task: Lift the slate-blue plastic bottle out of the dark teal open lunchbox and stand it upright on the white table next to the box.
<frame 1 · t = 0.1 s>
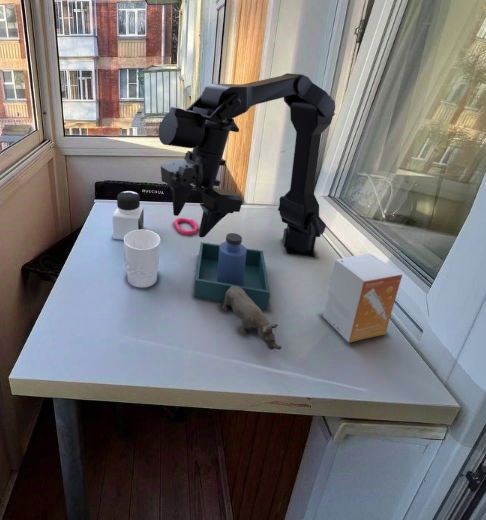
hand: (187, 225, 66), 15 cm above the table, tool pointing down, fingers open, 9 cm apart
lunchbox: (229, 280, 73), on the table
bottle: (229, 279, 73), resting on lunchbox
white cup: (142, 278, 74), on the table
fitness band: (185, 228, 95), on the table
rhino figurine: (249, 331, 60), on the table
medicine bottle: (128, 234, 92), on the table
small box: (352, 326, 61), on the table
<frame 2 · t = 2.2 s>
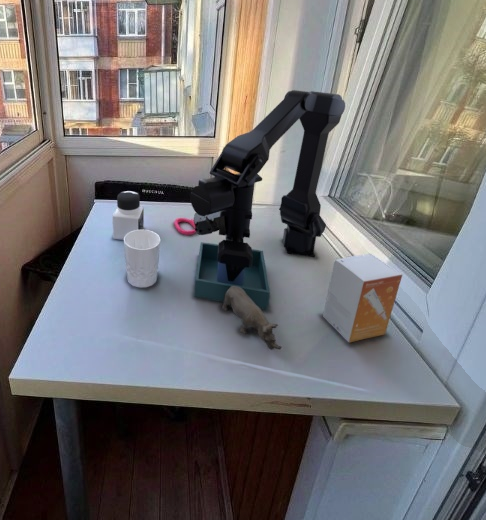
hand: (230, 268, 72), 3 cm above the table, tool pointing down
bottle: (229, 279, 73), resting on lunchbox, touching gripper
everything else where it was.
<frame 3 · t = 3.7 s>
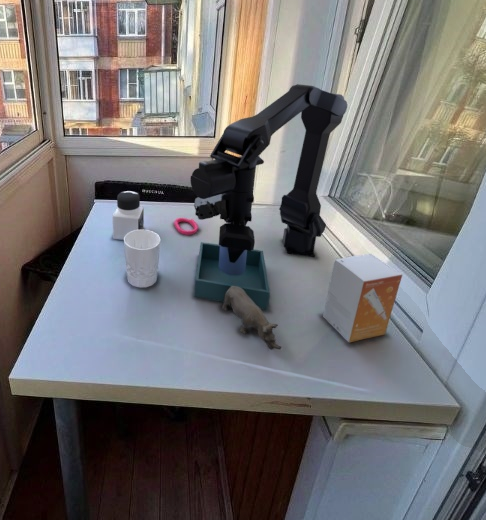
hand: (232, 253, 71), 7 cm above the table, tool pointing down, fingers closed on bottle, 6 cm apart
bottle: (231, 267, 72), point 4 cm above the table, touching gripper
everything else where it was.
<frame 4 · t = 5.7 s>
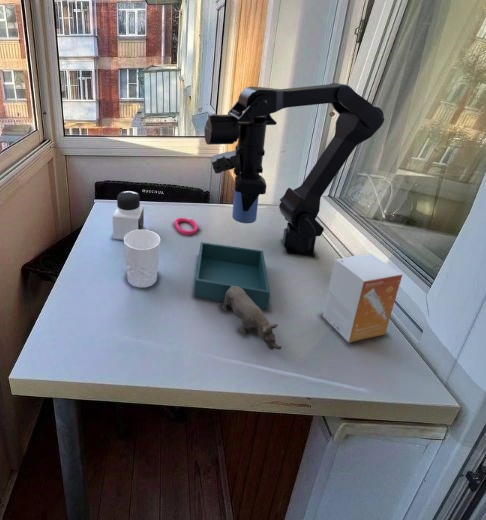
hand: (244, 205, 80), 13 cm above the table, tool pointing down, fingers closed on bottle, 6 cm apart
bottle: (244, 217, 81), point 9 cm above the table, touching gripper
everything else where it was.
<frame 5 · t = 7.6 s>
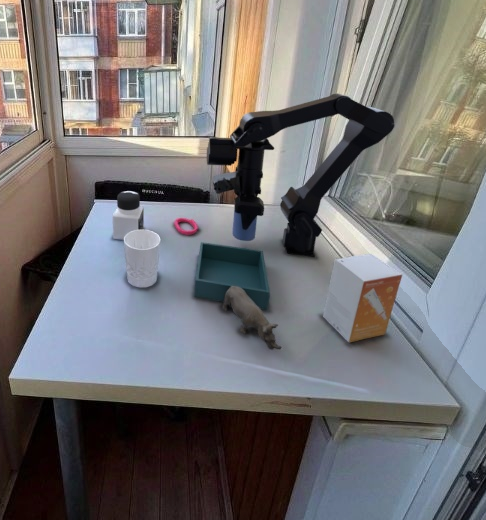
hand: (244, 223, 84), 6 cm above the table, tool pointing down, fingers closed on bottle, 6 cm apart
bottle: (243, 235, 85), point 3 cm above the table, touching gripper
everything else where it was.
when the fingers open (3 cm above the table, at t = 9.0 s): bottle stays where it is, on the table.
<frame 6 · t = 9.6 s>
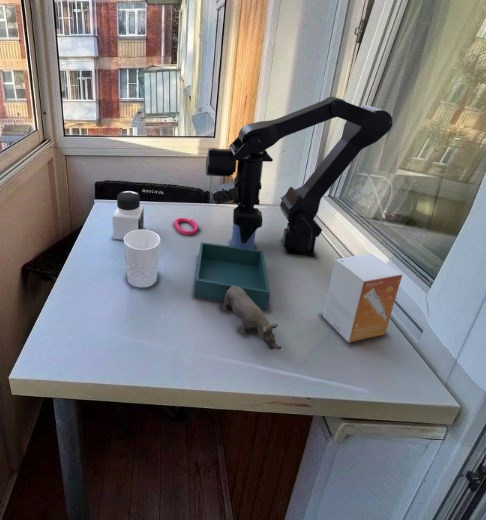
hand: (242, 233, 85), 4 cm above the table, tool pointing down, fingers open, 9 cm apart
bottle: (242, 245, 86), on the table
everything else where it was.
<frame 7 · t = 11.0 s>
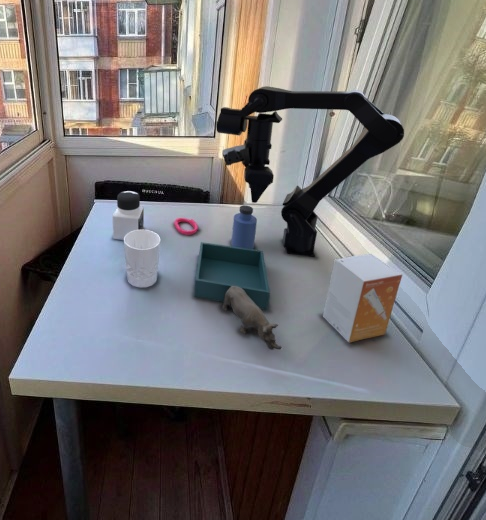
hand: (252, 194, 88), 12 cm above the table, tool pointing down, fingers open, 9 cm apart
nothing on the table moved.
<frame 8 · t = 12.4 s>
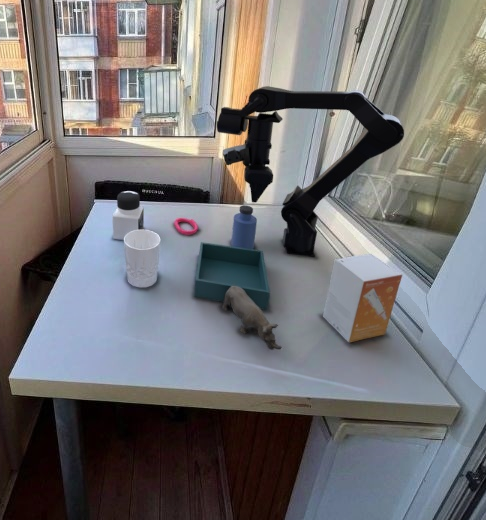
hand: (252, 194, 88), 12 cm above the table, tool pointing down, fingers open, 9 cm apart
nothing on the table moved.
at the end: bottle inside the target area (0.2 cm from its centre), on the table; bottle tilted 0°; bottle touching table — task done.
